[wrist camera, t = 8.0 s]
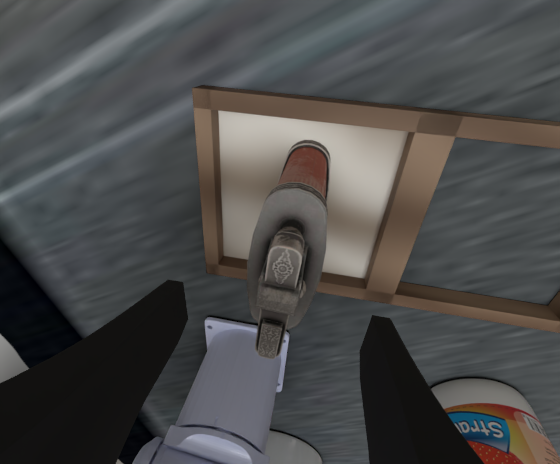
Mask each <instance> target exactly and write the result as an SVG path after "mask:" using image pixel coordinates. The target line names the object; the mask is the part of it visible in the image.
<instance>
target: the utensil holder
mask: <svg viewBox="0 0 560 464" xmlns="http://www.w3.org/2000/svg"><path fill="white" fill-rule="evenodd" d="M265 455H267V456H269V457H270V461H269V464H322V459H321V457H320V455H319V454H318V452H317V451H316V450H315V449H313V448H312V447H311V446H309V445H308V444H306V443H305V442H303V441H301V440H299V439H297V438H295V437H292V436H290V435H287V434H283V433H279V432H275V431H270V430H269V435H268V441H267V446H266V452H265Z"/></svg>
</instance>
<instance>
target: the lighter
mask: <svg viewBox="0 0 560 464" xmlns="http://www.w3.org/2000/svg"><path fill="white" fill-rule="evenodd" d="M329 184H330V153H329V152H328V150H327V148H326V147H325V146H324V145H322V144H321V143H320V142H317V141H314V140H303V141H299V142H297V143H296V144H294V145H293V146H292V147H291V149H290V150H289V152H288V154H287V157H286V159H285V162H284V165H283V168H282V170H281V173H280V176H279V179H278V183H277V186H276V187H275V188H273V189H272V190H271V191H270V193H269V194H268V196H267V198H266V200H265V202H264V204H263V207H262V210H261V212H260V215H259V218H258V221H257V224H256V227H255V230H254V233H253V236H252V242H251V247H250V252H249V257H248V262H247V292H248V299H249V306H250V312H251V314H252V317H253V318H254V319H255V320H256V321H257V322H258V328H257V335H256V342H255V350H256V352H257V353H258V355H259V356H260V357H263V358H267V359H275V357H278V356H279V355H280V353H281V350H282V346H283V341H284V337H285V333H286V329H291V328H293V327H296V326H297V325H298V324H299V323H300V321H301V320H302V318H303V316H304V314H305V313H306V311H307V309H308V308H309V306H310V304H311V302H312V300H313V297H314V294H315V292H316V289H317V287H318V284H319V282H320V279H321V274H322V269H323V263H324V258H325V253H326V241H327V216H328V207H327V199H328V193H329Z"/></svg>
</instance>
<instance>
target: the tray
mask: <svg viewBox="0 0 560 464" xmlns="http://www.w3.org/2000/svg"><path fill="white" fill-rule="evenodd" d="M192 93H193V106H194V119H195V132H196V144H197V157H198V170H199V183H200V196H201V208H202V221H203V234H204V247H205V260H206V272H207V273H209V274H215V275H221V276H227V277H233V278H239V279H245V280H247V262H248V257H249V252H250V247H251V242H252V236H253V233H254V230H255V227H256V224H257V221H258V218H259V215H260V212H261V210H262V207H263V204H264V202H265V200H266V198H267V196H268V194H269V193H270V191H271V190H272V189H273V188H275V187H276V186H277V183H278V179H279V176H280V173H281V170H282V168H283V165H284V162H285V159H286V157H287V154H288V152H289V150H290V149H291V147H292V146H293V145H294V144H296V143H297V142H299V141H303V140H314V141H317V142H320V143H321V144H322V145H324V146H325V147H326V148H327V150H328V152H329V153H330V184H329V193H328V199H327V207H328V216H327V241H326V253H325V258H324V263H323V269H322V274H321V279H320V282H319V284H318V287H317V289H316V292H321V293H327V294H333V295H339V296H345V297H351V298H357V299H363V300H369V301H375V302H380V303H386V304H392V305H398V306H404V307H410V308H416V309H422V310H428V311H434V312H439V313H445V314H451V315H457V316H463V317H469V318H475V319H481V320H487V321H493V322H499V323H504V324H510V325H516V326H522V327H528V328H534V329H540V330H546V331H552V332H558V333H560V291H559V292H558V294H557V295H556V296H555V297H554V299H553V300H552V301H551V302H550V304H549V305H548V306H547V305H541V304H534V303H528V302H522V301H516V300H510V299H503V298H497V297H491V296H485V295H479V294H472V293H466V292H460V291H454V290H448V289H441V288H435V287H429V286H423V285H417V284H410V283H404V282H399V281H400V279H401V276H402V274H403V271H404V268H405V266H406V263H407V261H408V258H409V256H410V253H411V250H412V248H413V245H414V243H415V240H416V237H417V235H418V232H419V230H420V227H421V225H422V222H423V219H424V217H425V214H426V212H427V209H428V206H429V204H430V201H431V199H432V196H433V194H434V191H435V188H436V186H437V183H438V181H439V178H440V176H441V173H442V170H443V168H444V165H445V163H446V160H447V157H448V155H449V152H450V150H451V147H452V145H453V142H454V139H455V137H460V138H469V139H478V140H487V141H496V142H505V143H514V144H523V145H532V146H541V147H550V148H559V149H560V122H553V121H543V120H534V119H524V118H514V117H505V116H495V115H485V114H476V113H466V112H456V111H447V110H437V109H427V108H418V107H408V106H398V105H389V104H379V103H369V102H359V101H350V100H340V99H330V98H321V97H311V96H301V95H292V94H282V93H272V92H263V91H253V90H243V89H234V88H224V87H214V86H205V85H202V86H198V87H194V88H192Z"/></svg>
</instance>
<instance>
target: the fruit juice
mask: <svg viewBox="0 0 560 464" xmlns="http://www.w3.org/2000/svg"><path fill="white" fill-rule="evenodd" d="M431 390H432V392H433V394H434V395H435V397H436V398H437V400H438V401H439V403H440V404H441V406H442V407H443V409H444V410H445V411H446V413H447V414H448V416H449V417H450V419H451V420H452V421H453V423H454V424H455V426H456V427H457V428H458V430H459V431H460V432H461V434H462V435H463V436H464V438H465V439H466V440H467V442H468V443H469V444H470V446H471V447H472V448H473V450H474V451H475V452H476V453H477V455H478V456H479V457H480V458H481V460H482V461H483V462H484V463H485V464H560V458H559V456H558V455H557V453H556V451H555V449H554V447H553V445H552V444H551V442H550V440H549V438H548V436H547V435H546V433H545V431H544V429H543V427H542V425H541V424H540V422H539V420H538V418H537V416H536V415H535V413H534V411H533V409H532V408H531V406H530V405H529V403H528V402H527V401H526V399H525V398H524V397H523V396H522V395H521V394H520V393H519V392H518V391H516V390H515V389H514V388H512V387H510V386H508V385H506V384H503V383H500V382H497V381H492V380H487V379H476V378H469V379H458V380H452V381H448V382H444V383H441V384H439V385H437V386H435V387H433V388H431Z"/></svg>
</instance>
